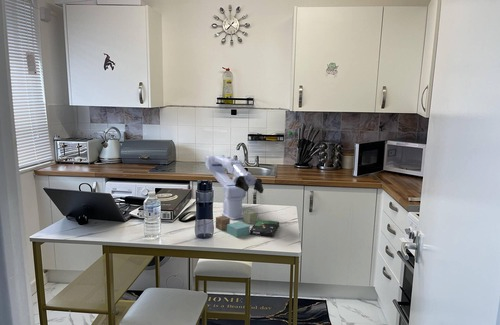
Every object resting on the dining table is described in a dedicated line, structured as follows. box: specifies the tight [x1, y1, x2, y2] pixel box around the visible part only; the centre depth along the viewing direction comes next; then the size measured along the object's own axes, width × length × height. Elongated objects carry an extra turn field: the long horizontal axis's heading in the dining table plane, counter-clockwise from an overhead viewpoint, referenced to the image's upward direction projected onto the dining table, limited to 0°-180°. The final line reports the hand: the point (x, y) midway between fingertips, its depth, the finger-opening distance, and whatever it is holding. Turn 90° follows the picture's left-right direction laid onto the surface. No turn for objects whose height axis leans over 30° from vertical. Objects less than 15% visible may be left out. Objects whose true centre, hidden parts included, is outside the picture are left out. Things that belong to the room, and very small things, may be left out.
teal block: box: [226, 221, 251, 238], centre depth 165 cm, size 7×7×4 cm
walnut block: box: [215, 215, 231, 232], centre depth 170 cm, size 4×4×5 cm
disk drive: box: [249, 219, 280, 239], centre depth 170 cm, size 10×3×15 cm
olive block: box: [243, 209, 259, 225], centre depth 180 cm, size 4×4×5 cm
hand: (255, 190), depth 166 cm, fingers open, 7 cm apart
